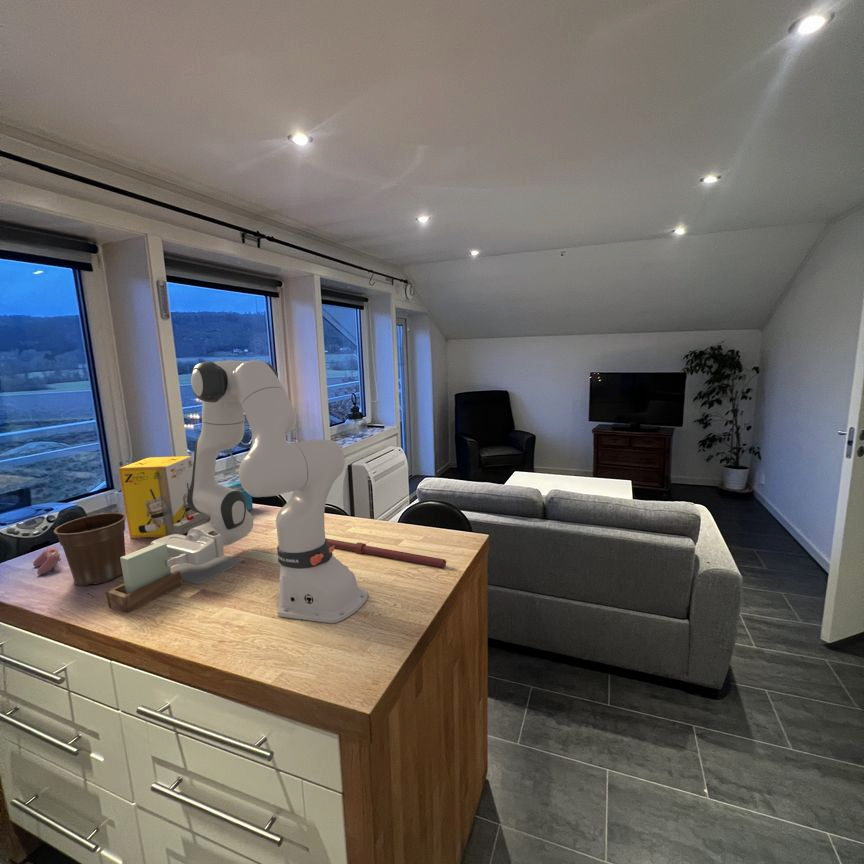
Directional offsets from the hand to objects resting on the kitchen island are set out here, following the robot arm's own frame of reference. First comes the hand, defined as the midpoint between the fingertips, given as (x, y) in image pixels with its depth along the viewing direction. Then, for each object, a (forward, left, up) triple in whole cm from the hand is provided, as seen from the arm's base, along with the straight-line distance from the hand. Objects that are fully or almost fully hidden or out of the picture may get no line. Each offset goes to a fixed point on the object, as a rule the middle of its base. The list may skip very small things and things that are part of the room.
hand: (155, 561), depth 118 cm
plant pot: (+24, +2, -8) cm, 25 cm away
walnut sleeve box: (0, +3, -8) cm, 8 cm away
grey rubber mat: (0, -13, -8) cm, 15 cm away
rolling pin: (-43, -39, -9) cm, 59 cm away
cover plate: (0, +2, -8) cm, 8 cm away
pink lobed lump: (+45, +5, -8) cm, 46 cm away
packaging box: (+41, -29, -8) cm, 51 cm away
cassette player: (+18, -25, -8) cm, 32 cm away
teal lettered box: (+30, -50, -8) cm, 59 cm away
